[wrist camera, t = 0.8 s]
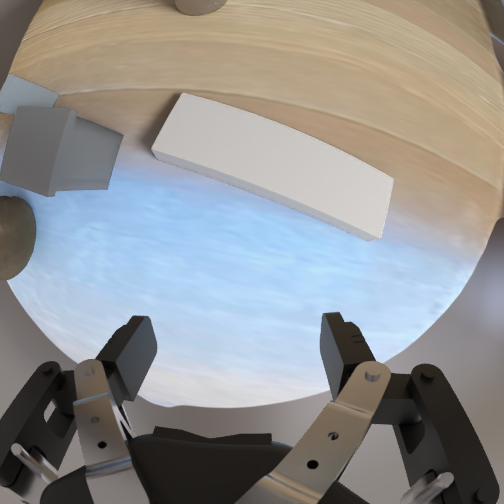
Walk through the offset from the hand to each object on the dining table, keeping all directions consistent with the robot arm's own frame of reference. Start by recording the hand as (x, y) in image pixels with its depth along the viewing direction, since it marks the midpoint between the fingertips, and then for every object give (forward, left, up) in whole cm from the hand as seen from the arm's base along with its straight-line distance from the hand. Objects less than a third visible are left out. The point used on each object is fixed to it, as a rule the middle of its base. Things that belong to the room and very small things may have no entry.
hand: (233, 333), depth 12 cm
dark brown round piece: (-17, -38, -29) cm, 51 cm away
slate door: (-38, -25, -28) cm, 54 cm away
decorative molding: (-8, +9, -29) cm, 31 cm away
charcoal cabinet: (-24, -21, -28) cm, 42 cm away
